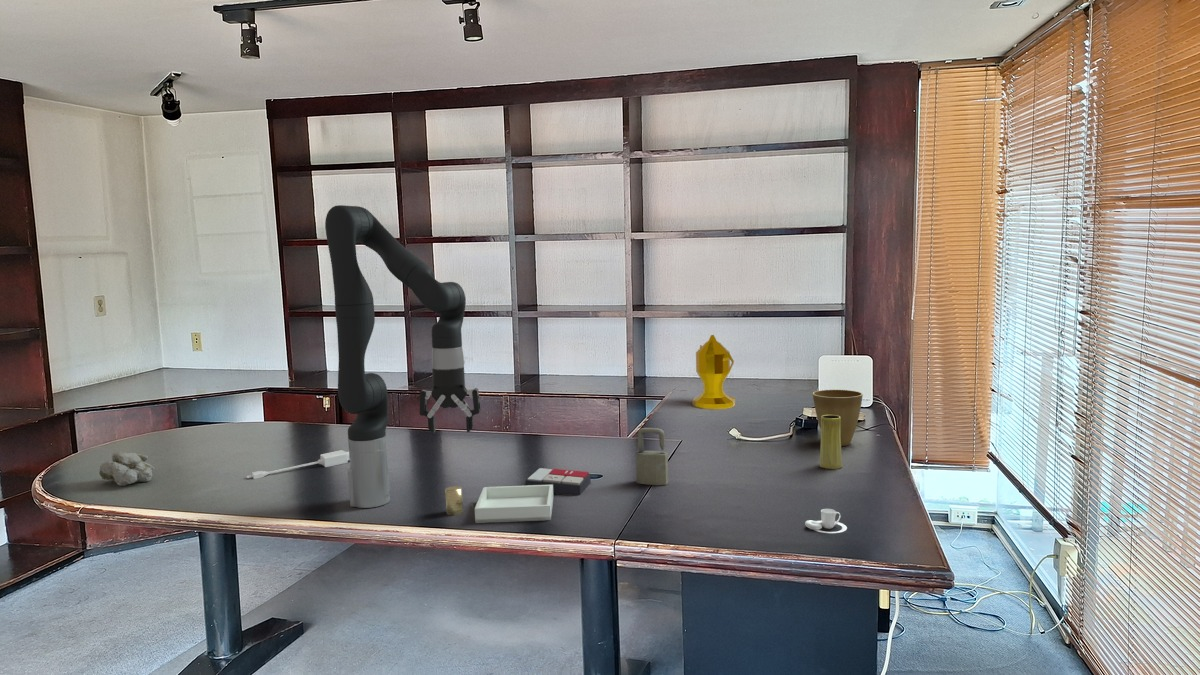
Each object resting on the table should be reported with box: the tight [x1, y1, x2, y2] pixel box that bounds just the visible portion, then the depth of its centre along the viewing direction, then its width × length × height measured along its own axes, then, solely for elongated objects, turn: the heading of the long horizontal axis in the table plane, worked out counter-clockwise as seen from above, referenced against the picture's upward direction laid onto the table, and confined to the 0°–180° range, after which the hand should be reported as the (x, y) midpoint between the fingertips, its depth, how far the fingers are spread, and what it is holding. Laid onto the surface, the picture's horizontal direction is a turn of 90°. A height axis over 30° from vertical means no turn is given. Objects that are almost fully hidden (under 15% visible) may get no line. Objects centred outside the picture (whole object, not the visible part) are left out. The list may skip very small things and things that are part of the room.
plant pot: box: [812, 389, 863, 447], centre depth 242 cm, size 15×15×16 cm
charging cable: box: [246, 449, 350, 480], centre depth 234 cm, size 5×32×3 cm, turn 124°
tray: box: [474, 485, 554, 524], centre depth 190 cm, size 18×17×4 cm
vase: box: [819, 415, 843, 470], centre depth 217 cm, size 6×6×14 cm
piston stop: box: [444, 485, 464, 516], centre depth 189 cm, size 4×4×6 cm
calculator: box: [524, 467, 592, 496], centre depth 207 cm, size 11×4×15 cm
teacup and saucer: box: [804, 508, 848, 534], centre depth 172 cm, size 9×8×4 cm
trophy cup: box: [691, 334, 736, 410], centre depth 308 cm, size 18×24×28 cm
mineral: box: [98, 451, 156, 487], centre depth 224 cm, size 12×17×10 cm
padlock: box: [635, 427, 669, 486], centre depth 208 cm, size 4×8×15 cm, turn 70°
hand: (451, 431), depth 188 cm, fingers open, 8 cm apart
